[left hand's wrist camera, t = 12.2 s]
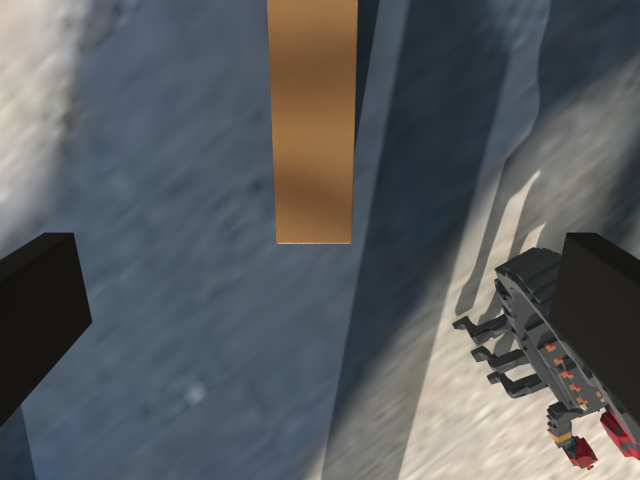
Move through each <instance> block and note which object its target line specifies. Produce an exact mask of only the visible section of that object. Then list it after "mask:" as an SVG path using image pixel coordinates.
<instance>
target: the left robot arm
mask: <svg viewBox="0 0 640 480" xmlns="http://www.w3.org/2000/svg"><path fill="white" fill-rule="evenodd" d="M91 323H92V318H91V313H90V309H89V304H88V299H87V295H86V290H85V285H84V280H83V276H82V271H81V266H80V262H79V257H78V252H77V247H76V243H75V238H74V233H43V234H42V235H40V236H38V237H37V238H35V239H34V240H32V241H30V242H29V243H27V244H25V245H24V246H22V247H21V248H19V249H17V250H16V251H14V252H13V253H11V254H9V255H8V256H6V257H5V258H3V259H1V260H0V427H1V426H2V425H3V424H4V423H5V422H6V420H7V419H8V418H9V417H10V416H11V415H12V414H13V412H14V411H15V410H16V409H17V408H18V407H19V406H20V404H21V403H22V402H23V401H24V400H25V399H26V398H27V396H28V395H29V394H30V393H31V392H32V391H33V390H34V388H35V387H36V386H37V385H38V384H39V383H40V382H41V380H42V379H43V378H44V377H45V376H46V375H47V374H48V372H49V371H50V370H51V369H52V368H53V367H54V366H55V364H56V363H57V362H58V361H59V360H60V359H61V358H62V356H63V355H64V354H65V353H66V352H67V351H68V350H69V348H70V347H71V346H72V345H73V344H74V343H75V342H76V340H77V339H78V338H79V337H80V336H81V335H82V334H83V332H84V331H85V330H86V329H87V328H88V327H89V326H90V324H91ZM548 323H549V324H550V326H551V327H552V328H553V329H554V330H555V331H556V332H557V334H558V335H559V336H560V337H561V338H562V339H563V340H564V342H565V343H566V344H567V345H568V346H569V347H570V348H571V350H572V351H573V352H574V353H575V354H576V355H577V356H578V358H579V359H580V360H581V361H582V362H583V363H584V364H585V366H586V367H587V368H588V369H589V370H590V371H591V372H592V374H593V375H594V376H595V377H596V378H597V379H598V380H599V382H600V383H601V384H602V385H603V386H604V387H605V388H606V390H607V391H608V392H609V393H610V394H611V395H612V396H613V398H614V399H615V400H616V401H617V402H618V403H619V404H620V406H621V407H622V408H623V409H624V410H625V411H626V412H627V414H628V415H629V416H630V417H631V418H632V419H633V420H634V422H635V423H636V424H637V425H638V426H639V427H640V260H639V259H637V258H635V257H634V256H632V255H631V254H629V253H627V252H626V251H624V250H623V249H621V248H619V247H618V246H616V245H615V244H613V243H611V242H610V241H608V240H606V239H605V238H603V237H602V236H600V235H598V234H597V233H566V238H565V243H564V247H563V252H562V257H561V262H560V266H559V271H558V276H557V280H556V285H555V290H554V295H553V299H552V304H551V309H550V313H549V318H548Z"/></svg>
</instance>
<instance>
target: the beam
mask: <svg viewBox="0 0 640 480" xmlns="http://www.w3.org/2000/svg"><path fill="white" fill-rule="evenodd" d="M267 8H268V34H269V60H270V86H271V112H272V138H273V164H274V190H275V215H276V241H277V243H352V214H353V176H354V139H355V101H356V64H357V26H358V0H267Z"/></svg>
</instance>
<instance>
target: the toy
mask: <svg viewBox="0 0 640 480" xmlns="http://www.w3.org/2000/svg"><path fill="white" fill-rule="evenodd" d="M561 257H562V256H561V255H560V254H559V253H557V252H556V253H555V252H552V251H551V250H549V249H546V248H543V249H539V248H538V249H537V248H534V247H533V248H531V249H529V250H527V251H526V252H524V253H522V254H520V255H518V256H517V257H515V258H513V259H511V260H509V261H508V262H506V263H504V264H502V265H500V266H498V267H497V268H495V271H496V273H497V276H498V278H497V279H495V280H494V282H495V287H496V290H497V293H498V295H499V297H500V299H501V304H502V307H503V310H504V314H503V315H501V316H499V317H497V318H496V319H494V320H491V321H488V322H486V323H484V324H482V325H479V326H476V325H474V324H473V323H472V322H471V321H470V320H469V318H468V316H465V317H464V318H462V319H460V320H458V321H456V322H454V323H453V324H452V325H453V326H454V328H455V329H461V330H465V329H467V331H468V333H469V334H470V336H471V338H472V339H473V340H474V342H475V343H479V344H480V343H482V342H484V341H486V340H487V339H489V338H491V337H493V338H494V339H495V338H496V337H498V336H500V335H502V334H503V333H505V332H507V331H509V330H510V331H511V333H512V334H513V336H514V338H515V339H516V341H517V342H518V344H519V346H520V348H521V350H520V349H516V350H514V351H511V352H509V353H507V354H504V355H502V356H500V357H497V356H496V355H495V353H494V354H493V355H492V354H491V353H490V351H489V350H488V349H487V348H485V347H484V346H480V347H478V348H477V349H475V350H473V351H471V354H472V356H473V357H474V359H475V360H476V362H481V361H485V360H487V361H488V363H489V365H490V367H491V368H492V370H496V371H495V372H493V373H492V374H490V375H488V376H487V378H488V380H489V381H490V383H491V384H495V383H498V382H501V383H502V385H503V386H504V388H505V390H506V392H507V393H508V395H509V396H510V397H511V398H514V399H516V398H519V397H522V396H525V395H528V394H530V393H534V392H536V391H538V390H541V389H543V388H546V387H548V386H549V388H550V389H551V391H552V392H553V394H554V395H555V396H556V398H557V399H558V401H559V402H557V403H555V404H552V405H550V406H549V408H548V409H547V411H548V413H549V415H547V418H548V419H549V422H548V423H547V424H548V426H549V429H547V431H548V432H549V434H550V435H551V437H552V439H553V440H554V442H555V443H556V445H557V447H558V448H561V447H562V448H563V450H564V451H565V453H566V454H567V456H568V458H569V459H570V461H571V462H572V464H573V466H579V467H580V468H582V469H583V468H585V467H586V468H587V469H588V471H589V470H590V469H592V468H593V467H594V466H593V465H592V466H590V464H592V463H594V462H596V461H598V459H597V458H596V456H595V454H594V452H593V450H592V449H591V447H590V446H589V444H588V443H587V442H586V440H585V439H584V437H583V438H581V439H580V438H579V437H578V436H575V437H574V436H572V429H571V428H572V423H571V420H573V419H575V418H577V417H579V418H580V417H583V416H585V415H588V414H590V413H593V412H596V411H598V412H599V411H600V409H601V408H603V407H604V408H605V409H606V412H604V413H603V414H602V415H601V418H600V421H601V423H602V425H603V427H604V429H605V430H606V432H607V434H608V436H609V437H610V438H611V439H612V441H613V442H614V443H615V445H616V446H617V447H618V448H619V450H620V451H621V452H622V454H623V455H624V456H625V457H631V456H633V457H635V458H636V459H638V460H640V427H639V426H638V425H637V424H636V423H635V422H634V420H633V419H632V418H631V417H630V416H629V415H628V414H627V412H626V411H625V410H624V409H623V408H622V407H621V406H620V404H619V403H618V402H617V401H616V400H615V399H614V398H613V396H612V395H611V394H610V393H609V392H608V391H607V390H606V388H605V387H604V386H603V385H602V384H601V383H600V382H599V380H598V379H597V378H596V377H595V376H594V375H593V374H592V372H591V371H590V370H589V369H588V368H587V367H586V366H585V364H584V363H583V362H582V361H581V360H580V359H579V358H578V356H577V355H576V354H575V353H574V352H573V351H572V350H571V348H570V347H569V346H568V345H567V344H566V343H565V342H564V340H563V339H562V338H561V337H560V336H559V335H558V334H557V332H556V331H555V330H554V329H553V328H552V327H551V326H550V324H549V323H548V318H549V313H550V309H551V304H552V299H553V295H554V290H555V285H556V280H557V276H558V271H559V266H560V262H561ZM528 363H530V364H531V366H532V367H533V369H534V370H535V372H536V373H535V374H533V375H530V376H527V377H524V378H521V379H519V380H517V381H514V382H513V381H511V380H510V379H509V378H508V377H507V376H506V375H505V373H504V372H506V371H508V370H511V369H513V368H515V367H517V366H519V365H524V364H528Z"/></svg>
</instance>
